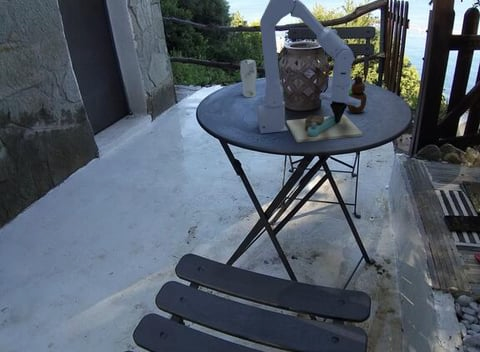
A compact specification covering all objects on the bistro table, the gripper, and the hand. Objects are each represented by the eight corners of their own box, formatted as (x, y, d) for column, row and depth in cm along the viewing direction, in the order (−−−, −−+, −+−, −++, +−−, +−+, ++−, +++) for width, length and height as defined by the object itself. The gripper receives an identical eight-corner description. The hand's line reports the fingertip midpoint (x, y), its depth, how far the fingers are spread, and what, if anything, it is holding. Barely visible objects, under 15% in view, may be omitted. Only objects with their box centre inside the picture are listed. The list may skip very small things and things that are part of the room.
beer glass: (239, 97, 164) (237, 63, 156) (244, 92, 169) (242, 59, 162) (255, 98, 162) (253, 63, 154) (259, 93, 167) (257, 59, 160)
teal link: (314, 137, 121) (315, 125, 119) (305, 134, 123) (305, 123, 121) (340, 121, 130) (340, 111, 128) (331, 119, 133) (331, 109, 131)
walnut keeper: (320, 132, 125) (321, 121, 123) (304, 130, 127) (305, 119, 125) (323, 127, 128) (324, 116, 126) (308, 125, 130) (308, 115, 128)
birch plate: (297, 142, 121) (297, 139, 120) (286, 123, 136) (286, 120, 135) (362, 136, 122) (362, 133, 122) (344, 117, 137) (344, 115, 136)
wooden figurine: (351, 115, 138) (355, 75, 131) (343, 110, 143) (347, 71, 135) (367, 113, 139) (372, 73, 132) (359, 108, 144) (363, 69, 137)
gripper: (367, 84, 120) (362, 123, 127) (328, 77, 129) (326, 114, 136) (356, 90, 116) (352, 130, 123) (317, 83, 125) (315, 120, 132)
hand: (337, 122), depth 129 cm, fingers closed
